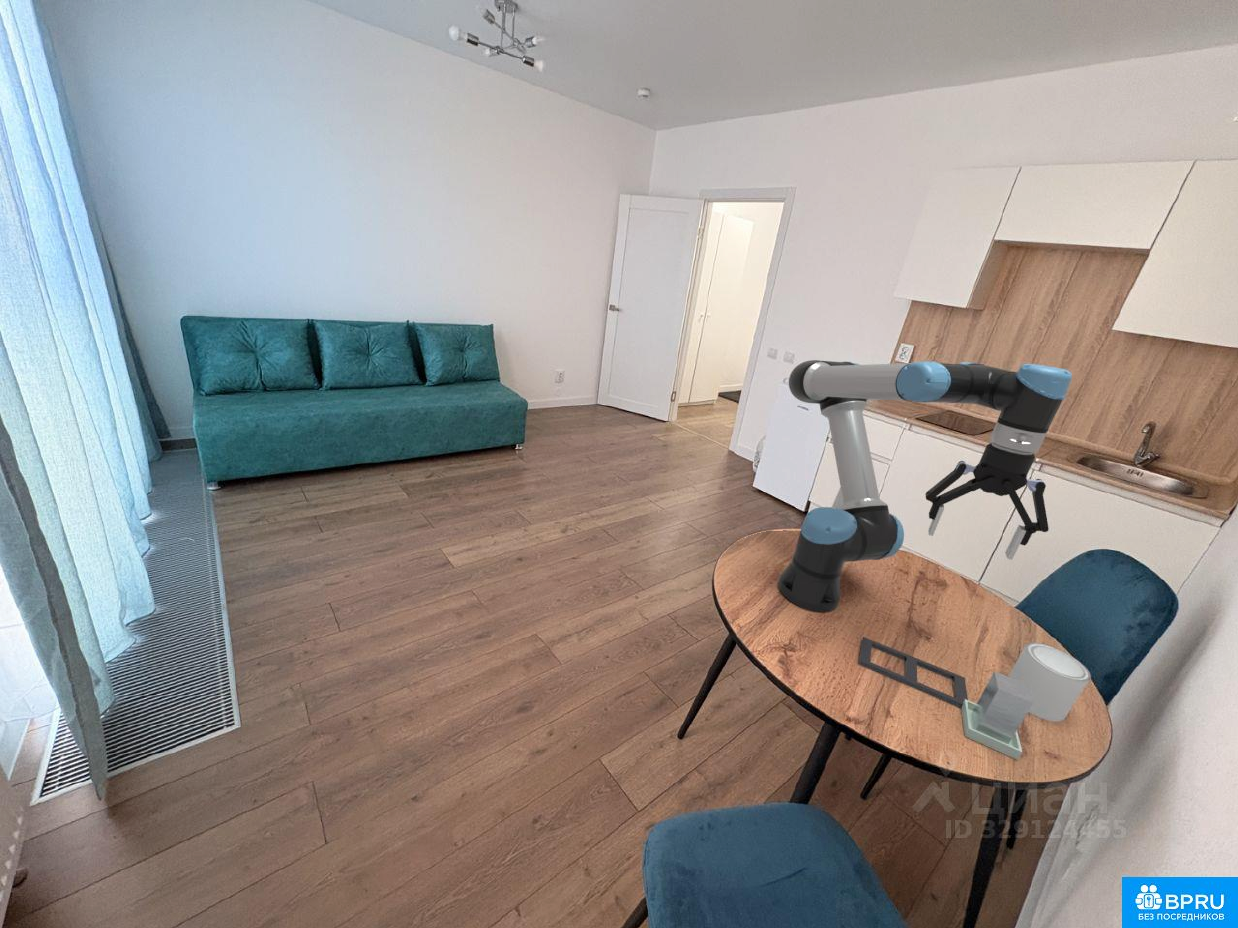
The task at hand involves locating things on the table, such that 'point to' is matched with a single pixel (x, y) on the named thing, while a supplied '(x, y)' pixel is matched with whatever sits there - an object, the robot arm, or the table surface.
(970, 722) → the tray
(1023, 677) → the mug
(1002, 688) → the grey rectangular block
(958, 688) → the double window frame
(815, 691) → the table surface
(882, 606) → the table surface
